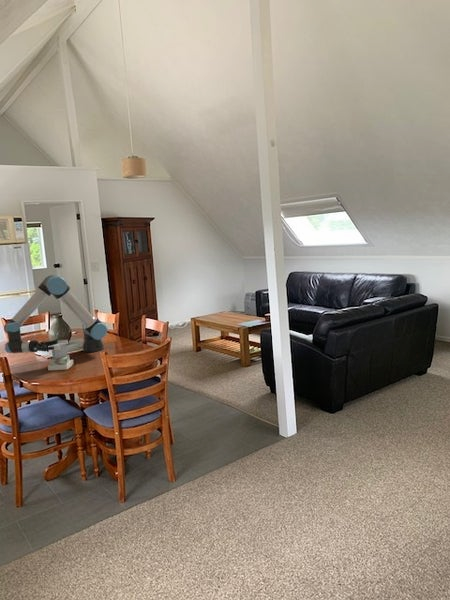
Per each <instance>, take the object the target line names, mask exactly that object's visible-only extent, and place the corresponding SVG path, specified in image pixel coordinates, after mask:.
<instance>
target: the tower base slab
mask: <svg viewBox="0 0 450 600" xmlns="http://www.w3.org/2000/svg"><path fill="white" fill-rule="evenodd" d="M74 363H75V362H74V359H70V360H69V362H68V364H64V365H53V366H51V365H50V364H48V365H47V369H48V371H62V370H63V371H64V370H68V369H69V368H71V367H73V365H74Z"/></svg>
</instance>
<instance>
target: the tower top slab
mask: <svg viewBox="0 0 450 600" xmlns="http://www.w3.org/2000/svg"><path fill="white" fill-rule="evenodd" d="M69 360H71V359H70V354H67V356H66V357H62V358H59V359H54V358H53V356H52V357H51V358H50V360H49V365H51V366H53V365H64V364H68V362H69Z"/></svg>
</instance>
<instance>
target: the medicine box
mask: <svg viewBox="0 0 450 600" xmlns="http://www.w3.org/2000/svg"><path fill="white" fill-rule="evenodd" d="M55 345H60V350H51V354H52V357H53V358H54V359H59V358H62V357H66V356H67V355H68V351H67V344H66V343H59V344H55ZM55 345H52V346H55Z"/></svg>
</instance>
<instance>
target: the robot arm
mask: <svg viewBox="0 0 450 600" xmlns="http://www.w3.org/2000/svg"><path fill="white" fill-rule="evenodd" d="M50 296H53V297H54V298H55V299H56V300H60V301H61V302H62V303H63V305H64V306H66V308H67V309H68V311H70V312H71V313H72V315H74V316H75V318H76V319H77V320H78V321H79V322H80V323H81V325H82V333H83V334H82V335H83V344H82V352H84V353H95V352H99V351H102V350H104V349H105V346H104V343H103V339H105V337H106V336H107V335H108V334H107V333H108V327H107V326H106V324H105V323H103V322H102V321H101V320H100V319H99V317H97V316H93V315H92V314H91V313H90V312H89V310H88V309H87V308H86V307H85V306H84V305H83V304H82V302H80V300H79V299H78V298H77V296H75V294H74V293H73V292H72V291H71V287H70V286H69V285H68V283H67V281H66V280H65V279H64V277H62V276H59V275H54V274H50V275H48V276H46V277H44V279H43V280H42V281H41V283H39V285H38V286H37V288H36V291H35V292H34V293H33V294H32V295H31V297H30V298H29V299H28V300H27V301H26V302H25V303H24V305H23V306H22V307H21V308H19V310H18V311H17V312H16V313H15V315H14V316H13V317H12V318H11V319H10V320H9V321H8V322H7V323H4V325H3V330H4V333H6V334H7V339H8V341H7V342H6V343H5V345H4V351H5V352H6V353H8V354H21V353H24V354H25V353H26V354H29V353H37V352H44V353H45V352H48V353H49V352H50V351H52V350H60V345H55V344H59V343H66V345H69V340H68V339H61V340H59V339H58V338H57V339H53V340H46V341H45V340H44V341H41V342H39V341H38V340H32V339H31V340H22V335H21V334H22V333H21V327H22V326H23V324H24V323H25V322H26V321H27V320H29V318H30V316H31V315H32V314H33V313H34V312H35V311H36V310H37V309H38V308H39V306H40V305H41V304H43V302H44V301H45V300H46V298H49V297H50ZM52 345H55V346H52Z"/></svg>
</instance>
